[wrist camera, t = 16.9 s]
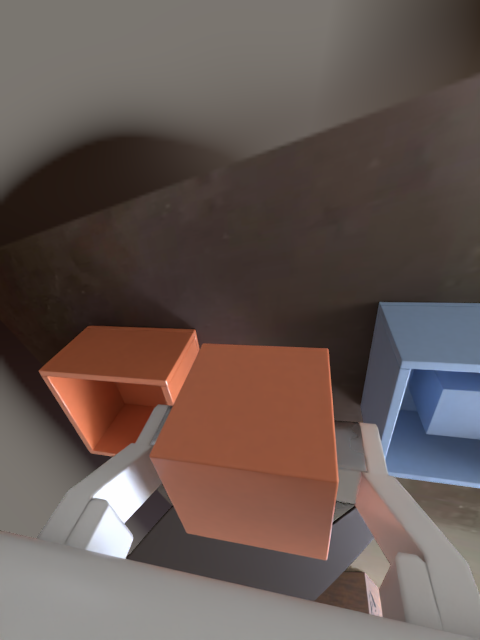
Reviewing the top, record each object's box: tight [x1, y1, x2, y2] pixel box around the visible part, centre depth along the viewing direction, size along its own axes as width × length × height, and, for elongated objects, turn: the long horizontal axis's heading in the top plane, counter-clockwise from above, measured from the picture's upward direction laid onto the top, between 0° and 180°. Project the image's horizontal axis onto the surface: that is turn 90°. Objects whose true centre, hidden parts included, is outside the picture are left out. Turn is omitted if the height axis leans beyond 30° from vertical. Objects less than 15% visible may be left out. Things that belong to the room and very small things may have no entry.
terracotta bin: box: [39, 326, 200, 457], centre depth 28 cm, size 11×11×6 cm
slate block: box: [409, 369, 480, 439], centre depth 21 cm, size 4×4×4 cm
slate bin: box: [361, 302, 480, 488], centre depth 20 cm, size 11×11×6 cm
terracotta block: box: [149, 344, 339, 560], centre depth 10 cm, size 4×4×4 cm
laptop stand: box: [126, 506, 374, 601], centre depth 36 cm, size 23×23×9 cm
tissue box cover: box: [314, 572, 383, 617], centre depth 51 cm, size 26×14×10 cm, turn 34°
